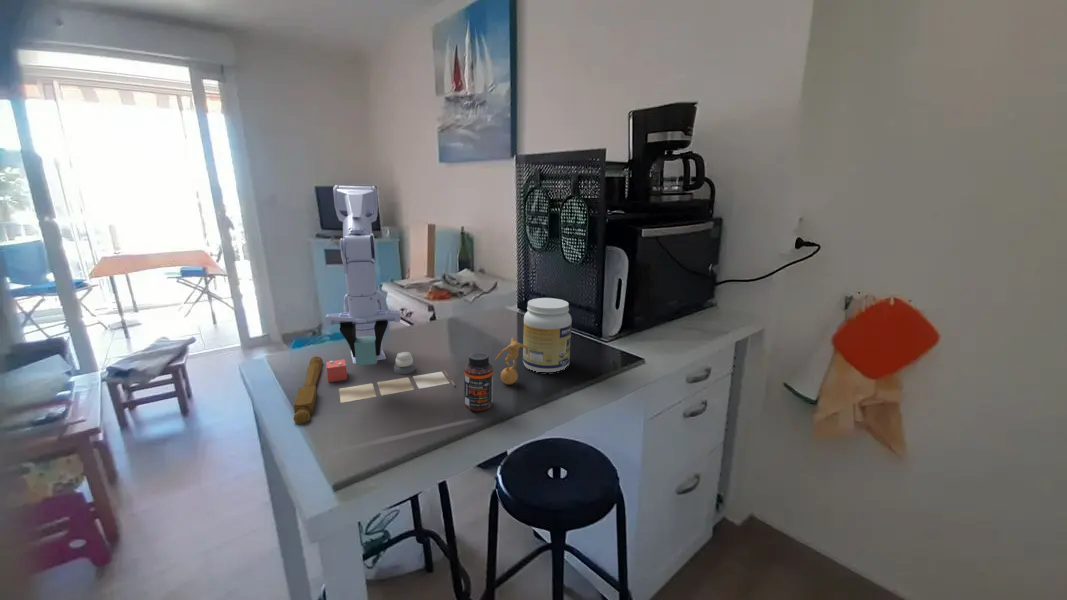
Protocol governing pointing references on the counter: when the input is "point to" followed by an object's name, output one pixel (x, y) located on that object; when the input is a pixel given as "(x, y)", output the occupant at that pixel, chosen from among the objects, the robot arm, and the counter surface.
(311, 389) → the tap handle
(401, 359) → the dome
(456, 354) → the counter surface
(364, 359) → the teal rectangular block
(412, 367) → the dome base
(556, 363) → the supplement tub
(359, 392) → the game board
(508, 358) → the figurine
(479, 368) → the supplement bottle
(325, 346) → the counter surface
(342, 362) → the red die
